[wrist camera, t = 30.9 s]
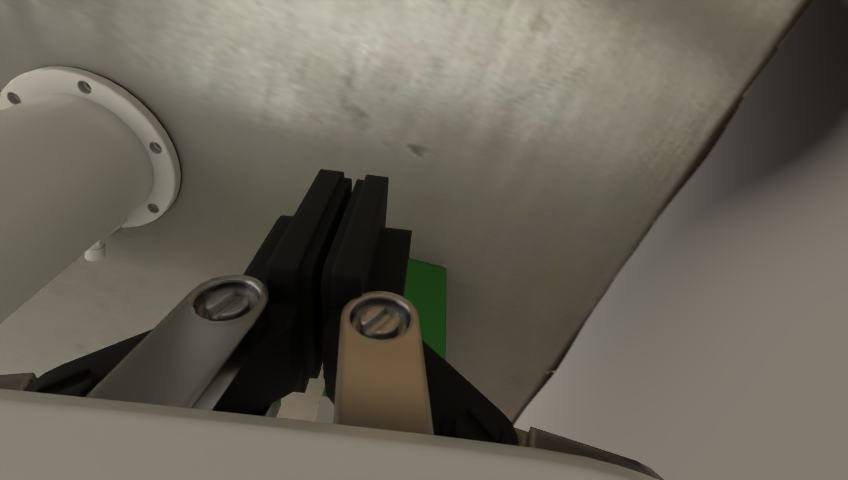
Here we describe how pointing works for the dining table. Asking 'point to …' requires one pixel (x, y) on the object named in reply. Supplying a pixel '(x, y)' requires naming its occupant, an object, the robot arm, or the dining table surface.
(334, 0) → the dining table surface
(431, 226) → the dining table surface
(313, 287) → the robot arm
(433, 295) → the hardback book
